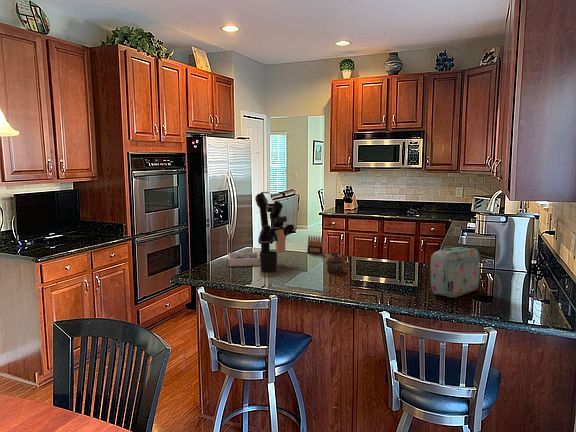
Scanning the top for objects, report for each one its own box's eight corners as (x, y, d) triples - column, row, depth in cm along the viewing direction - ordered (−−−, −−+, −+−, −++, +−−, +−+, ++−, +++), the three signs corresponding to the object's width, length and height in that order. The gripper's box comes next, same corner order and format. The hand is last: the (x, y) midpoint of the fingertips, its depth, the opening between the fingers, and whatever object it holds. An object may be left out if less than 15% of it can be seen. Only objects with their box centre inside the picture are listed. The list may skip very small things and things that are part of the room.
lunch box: (447, 301, 185) (449, 252, 183) (426, 295, 193) (428, 248, 191) (481, 291, 201) (484, 245, 198) (461, 286, 209) (463, 241, 207)
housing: (228, 259, 267) (228, 253, 267) (258, 258, 269) (258, 252, 269) (228, 266, 249) (228, 259, 249) (259, 265, 252) (259, 258, 251)
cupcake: (346, 272, 236) (347, 253, 235) (331, 273, 233) (331, 255, 232) (338, 268, 245) (338, 250, 244) (323, 269, 242) (323, 251, 240)
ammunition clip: (323, 254, 283) (323, 236, 282) (322, 254, 282) (322, 236, 280) (308, 252, 288) (308, 234, 287) (307, 253, 287) (307, 235, 285)
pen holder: (276, 272, 235) (276, 254, 233) (259, 272, 235) (259, 254, 234) (277, 268, 244) (277, 251, 243) (260, 268, 244) (260, 250, 243)
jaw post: (275, 251, 258) (275, 229, 257) (282, 250, 260) (283, 229, 258) (277, 252, 254) (277, 230, 252) (285, 252, 255) (285, 230, 254)
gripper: (263, 212, 255) (268, 233, 246) (293, 211, 261) (299, 232, 252) (259, 223, 263) (264, 244, 254) (289, 222, 269) (294, 243, 260)
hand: (281, 240), depth 255 cm, fingers closed on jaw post, 4 cm apart
